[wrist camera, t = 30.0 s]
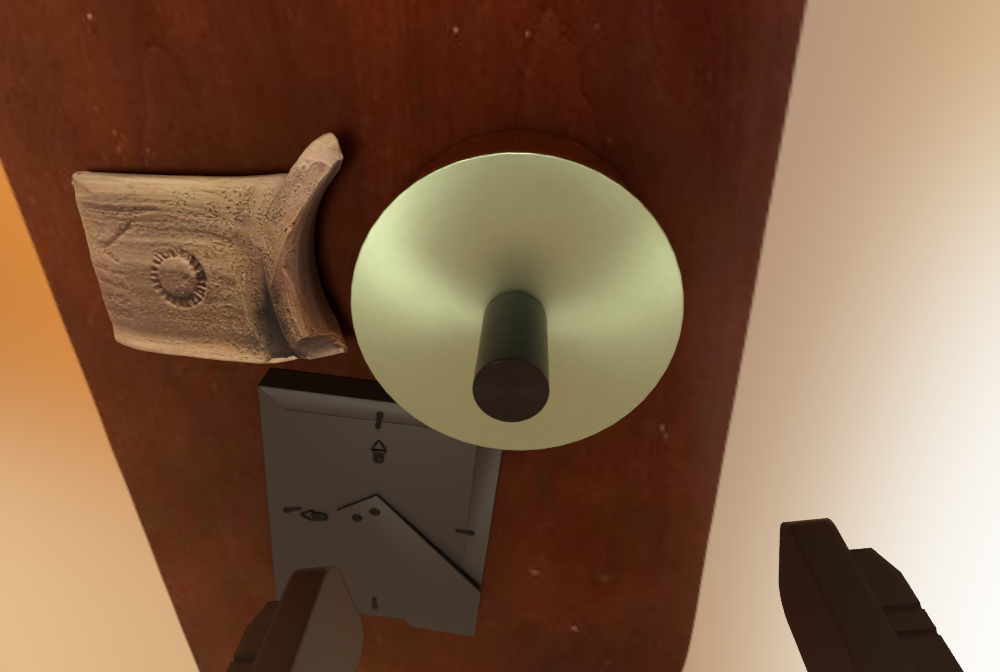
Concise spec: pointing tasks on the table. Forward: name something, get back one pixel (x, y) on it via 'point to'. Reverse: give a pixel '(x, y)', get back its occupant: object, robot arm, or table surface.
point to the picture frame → (376, 499)
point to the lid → (517, 300)
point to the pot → (523, 141)
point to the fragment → (214, 260)
